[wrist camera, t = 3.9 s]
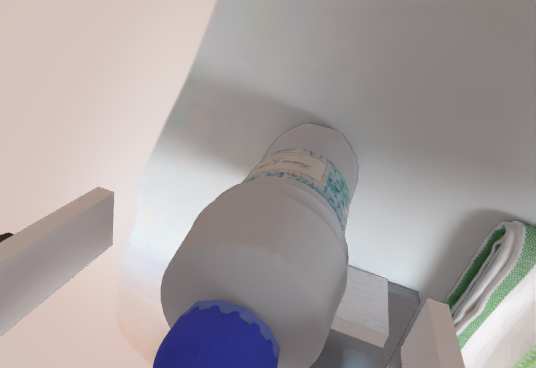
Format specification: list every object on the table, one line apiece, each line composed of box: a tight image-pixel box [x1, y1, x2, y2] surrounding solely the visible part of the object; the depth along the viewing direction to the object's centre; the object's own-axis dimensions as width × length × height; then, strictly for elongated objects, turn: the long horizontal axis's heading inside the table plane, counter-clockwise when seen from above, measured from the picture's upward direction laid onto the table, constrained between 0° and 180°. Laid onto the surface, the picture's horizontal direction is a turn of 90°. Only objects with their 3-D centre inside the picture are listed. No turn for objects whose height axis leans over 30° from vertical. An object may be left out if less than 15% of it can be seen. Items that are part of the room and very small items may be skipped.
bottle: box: [153, 123, 358, 368], centre depth 18 cm, size 7×7×20 cm
